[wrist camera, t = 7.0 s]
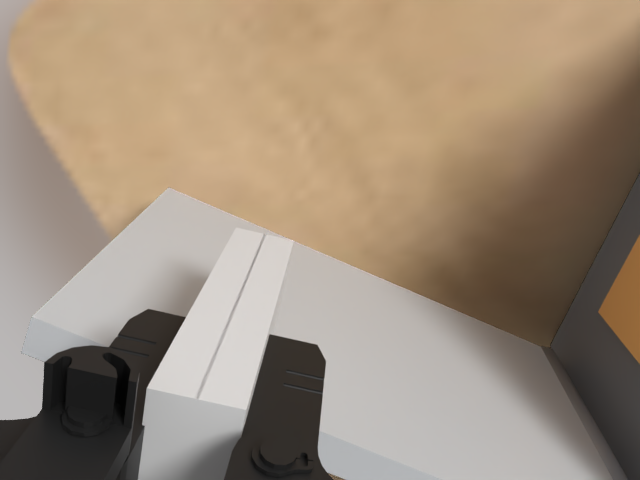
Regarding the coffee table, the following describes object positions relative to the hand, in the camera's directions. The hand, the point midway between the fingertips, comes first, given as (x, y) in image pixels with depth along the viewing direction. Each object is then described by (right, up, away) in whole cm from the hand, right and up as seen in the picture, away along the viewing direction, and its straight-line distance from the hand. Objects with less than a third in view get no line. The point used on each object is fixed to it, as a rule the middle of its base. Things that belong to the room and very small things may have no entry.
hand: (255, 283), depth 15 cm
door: (+3, -1, +8) cm, 9 cm away
